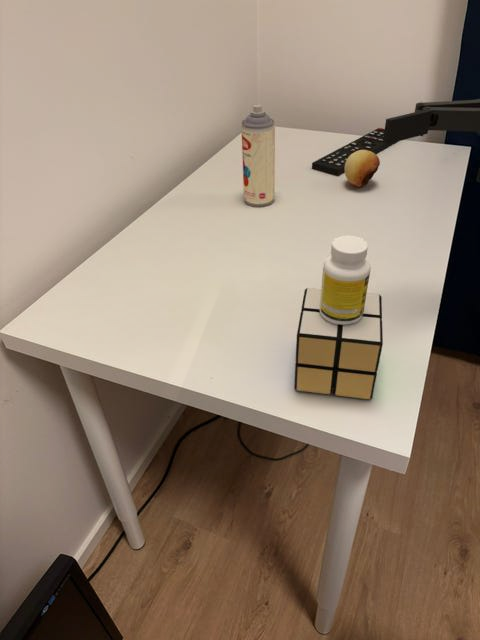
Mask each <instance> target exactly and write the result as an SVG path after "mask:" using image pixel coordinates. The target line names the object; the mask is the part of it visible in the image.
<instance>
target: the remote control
mask: <svg viewBox="0 0 480 640" xmlns="http://www.w3.org/2000/svg"><path fill="white" fill-rule="evenodd" d="M384 130H385V128H382V127H377V128H376V129H374V130H372V131H370V132H368V133H366V134H364V135H362V136H360V137H359V138H357V139H355V140H352V141H351V142H349V143H347V144H345V145H343V146H342V147H340V148H338V149H336V150H334V151H332V152H330V153H328V154H326V155H324V156H322V157H321V158H318V159H316V160H315V161H312V162H311V169H312V170H314V171H318V172H321V173H325V174H328V175H331V176H335V177H340V176H341V175H343V174H345V163H346V161H347V159H348V157H349V156H350V155H351V154H352V153H354V152H356V151H359V150H367V151H371V152H373V153H375V154H376V155H378V154H379V153H381V152H383V151H384V150H386V149H388V148H390V147H392V146H393V145H395V144H396V143H398V142H394V143H390V144H385V143H383V137H384Z"/></svg>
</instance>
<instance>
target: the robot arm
mask: <svg viewBox="0 0 480 640" xmlns="http://www.w3.org/2000/svg"><path fill="white" fill-rule="evenodd" d="M384 129H385V130H384V137H383V143H385V144H390V143H394V142H397V143H399V142H401V141H405V140H409V139H412V138H416V137H417V138H418V137H424V136H425V135H427V134H428V133H429V131H442V132H476V133H477V135H478V136H480V98H478V99H469V100H468V99H465V100H445V101H428V102H423V101H422V102H421V101H420V102H417V103H415V108H414V112H410V113H405V114H402V115H401V114H400V115H397V116H394V117H393V116H392V117H389V118H385V125H384ZM475 182H478V183H480V167H479V169H478V172H477V176H476V179H475Z"/></svg>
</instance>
